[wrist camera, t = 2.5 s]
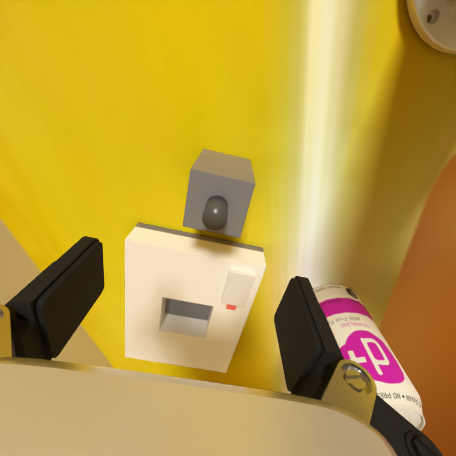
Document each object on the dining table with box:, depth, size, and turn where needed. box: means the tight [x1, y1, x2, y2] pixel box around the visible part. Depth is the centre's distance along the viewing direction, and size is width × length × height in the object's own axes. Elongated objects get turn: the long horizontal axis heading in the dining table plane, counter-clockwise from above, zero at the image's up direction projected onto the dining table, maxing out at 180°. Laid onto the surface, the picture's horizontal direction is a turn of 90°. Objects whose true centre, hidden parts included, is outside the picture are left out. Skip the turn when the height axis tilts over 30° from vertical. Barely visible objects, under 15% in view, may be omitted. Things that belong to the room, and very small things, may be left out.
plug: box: [183, 149, 255, 238], centre depth 21 cm, size 5×5×10 cm
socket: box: [125, 223, 266, 373], centre depth 33 cm, size 16×22×5 cm
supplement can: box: [313, 284, 425, 430], centre depth 28 cm, size 8×8×15 cm
